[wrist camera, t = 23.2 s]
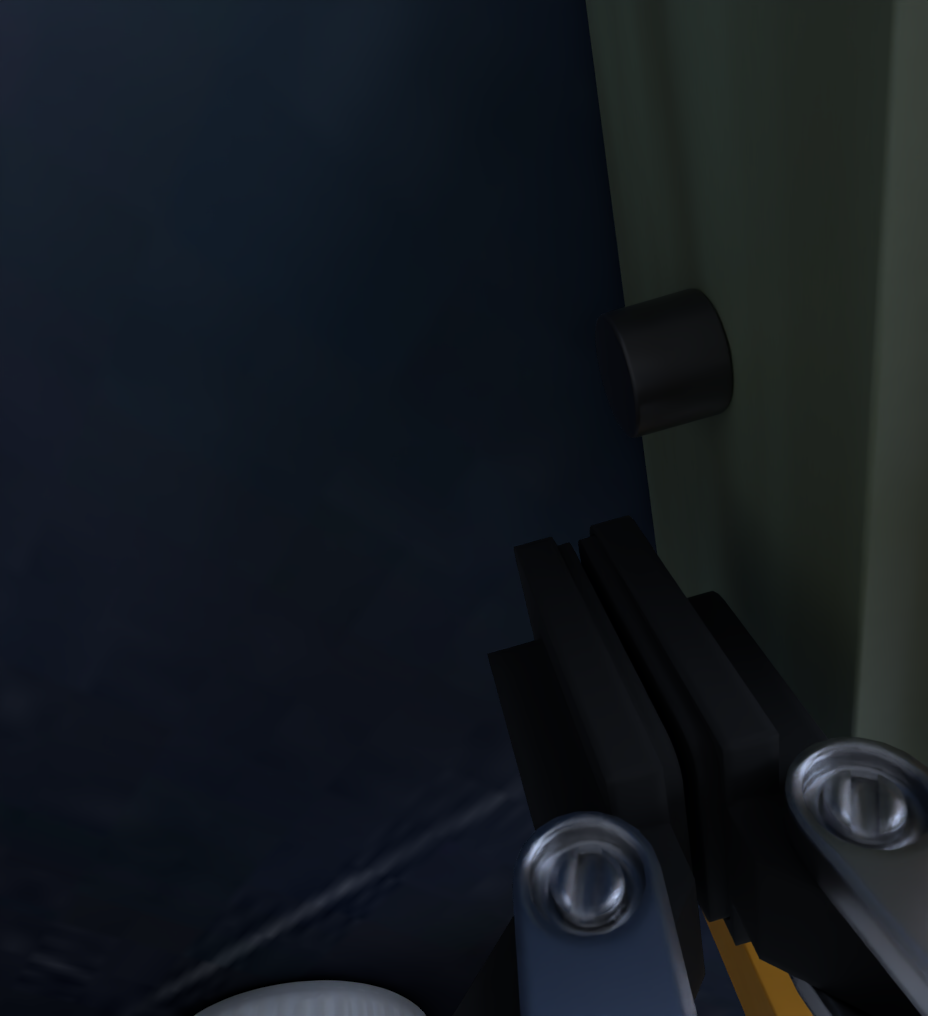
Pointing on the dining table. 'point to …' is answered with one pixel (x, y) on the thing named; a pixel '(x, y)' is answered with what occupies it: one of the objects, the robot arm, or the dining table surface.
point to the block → (756, 978)
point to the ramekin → (315, 1001)
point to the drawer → (780, 327)
